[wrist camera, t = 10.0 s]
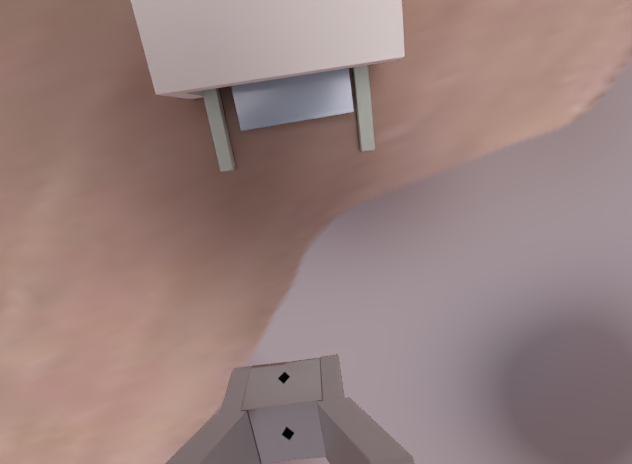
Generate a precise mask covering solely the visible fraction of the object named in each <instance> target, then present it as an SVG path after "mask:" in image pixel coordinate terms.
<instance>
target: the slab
mask: <svg viewBox="0 0 632 464" xmlns="http://www.w3.org/2000/svg"><path fill="white" fill-rule="evenodd" d="M231 88H232V93H233V97H234V102H235V106H236V111H237V115H238V120H239V124H240V129H241V131H245V130H251V129H256V128H262V127H268V126H274V125H280V124H285V123H291V122H297V121H303V120H309V119H315V118H320V117H326V116H332V115H338V114H344V113H349V112H354V108H353V100H352V92H351V84H350V76H349V68H346V69H339V70H333V71H326V72H320V73H313V74H306V75H300V76H293V77H287V78H280V79H273V80H267V81H260V82H254V83H247V84H241V85H234V86H231Z"/></svg>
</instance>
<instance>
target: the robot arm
mask: <svg viewBox="0 0 632 464" xmlns="http://www.w3.org/2000/svg"><path fill="white" fill-rule="evenodd" d="M320 457H326V458H327V460H328V462H329V463H330V464H415V463H414V460H413V457H412V456H411V455H410V454H409V453H408V452H407V451H406V450H405V449H404V448H403V447H402V446H401V445H400V444H399V443H398V442H396V441H395V440H394V439H393V438H392V437H391V436H390V435H389V434H388V433H387V432H386V431H385V430H384V429H383V428H382V427H380V426H379V425H378V424H377V423H376V422H375V421H374V420H373V419H372V418H371V417H370V416H369V415H368V414H367V413H366V412H365V411H363V410H362V409H361V408H360V407H359V406H358V405H357V404H356V403H355V402H354V401H353V400H352V399H351V398H344V390H343V384H342V376H341V369H340V362H339V356H338V355H337V354H336V355H330V356H324V357H321V358H313V359H307V360H299V361H292V362H282V363H273V364H264V365H254V366H247V367H239V368H234V370H233V371H232V373H231V376H230V380H229V383H228V387H227V390H226V394H225V397H224V401H223V404H222V408H221V412H220V414H217V415H214V416H213V417H212V418H211V419H210V420H209V421H208V422H207V423H206V424H205V425H204V426H203V427H202V428H201V429H200V430H199V431H198V432H197V433H196V434H195V435H194V436H193V437H192V438H191V439H190V440H189V441H188V442H186V443H185V444H184V445H183V446H182V447H181V448H180V449H179V450H178V451H177V452H176V453H175V454H174V455H173V456H172V457H171V458H170V459H169V460H168V461H167V462H166V463H165V464H271V463H277V462H283V461H290V460H298V459H309V458H320Z"/></svg>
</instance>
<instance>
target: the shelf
mask: <svg viewBox="0 0 632 464" xmlns="http://www.w3.org/2000/svg"><path fill="white" fill-rule="evenodd" d="M131 3H132V7H133V11H134V15H135V18H136V22H137V26H138V30H139V33H140V37H141V41H142V45H143V48H144V52H145V56H146V60H147V63H148V67H149V71H150V75H151V78H152V82H153V86H154V90H155V93H156V95H162V96H170V97H177V98H185V99H197V98H204V102H205V106H206V111H207V115H208V120H209V124H210V129H211V133H212V137H213V142H214V146H215V151H216V155H217V159H218V164H219V168H220V172H224V171H231V170H234V169H235V168H236V167H235V163H234V158H233V153H232V148H231V144H230V139H229V134H228V130H227V125H226V120H225V115H224V111H223V106H222V101H221V97H220V92H219V88H221V87H227V86H234V85H241V84H247V83H254V82H260V81H267V80H273V79H280V78H287V77H293V76H300V75H306V74H313V73H320V72H326V71H333V70H339V69H346V68H352V71H353V81H354V91H355V101H356V111H357V121H358V132H359V142H360V150H361V151H369V150H375V142H374V130H373V118H372V106H371V95H370V83H369V71H368V65H372V64H379V63H386V62H392V61H399V60H400V59H402V58H404V57H405V52H404V34H403V15H402V0H131Z"/></svg>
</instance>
